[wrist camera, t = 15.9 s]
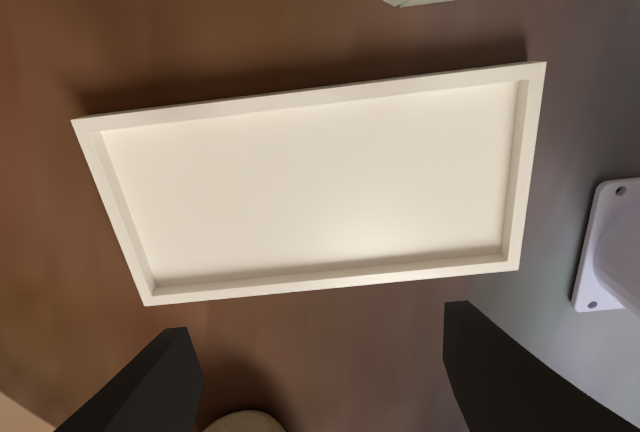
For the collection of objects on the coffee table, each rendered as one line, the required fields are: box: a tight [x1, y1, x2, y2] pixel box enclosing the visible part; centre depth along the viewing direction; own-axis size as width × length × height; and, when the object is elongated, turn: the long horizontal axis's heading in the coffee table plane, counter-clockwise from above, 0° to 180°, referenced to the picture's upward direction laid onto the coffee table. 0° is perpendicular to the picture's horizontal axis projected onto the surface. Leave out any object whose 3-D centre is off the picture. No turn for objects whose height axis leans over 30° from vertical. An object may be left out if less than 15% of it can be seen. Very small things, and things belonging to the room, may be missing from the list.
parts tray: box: [71, 61, 546, 306], centre depth 17 cm, size 20×10×1 cm, turn 97°
